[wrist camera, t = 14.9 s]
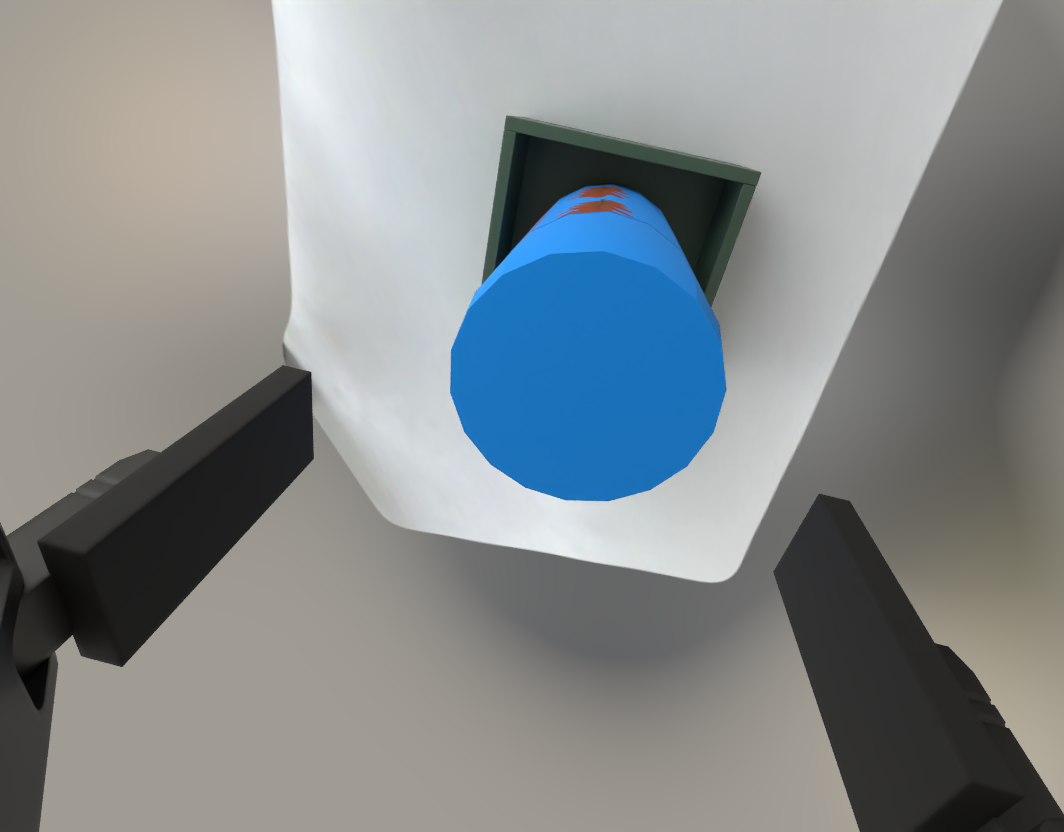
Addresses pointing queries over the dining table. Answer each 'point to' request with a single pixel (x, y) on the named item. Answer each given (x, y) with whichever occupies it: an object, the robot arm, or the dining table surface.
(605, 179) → the box
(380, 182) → the dining table surface
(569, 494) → the thermos
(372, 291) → the dining table surface
